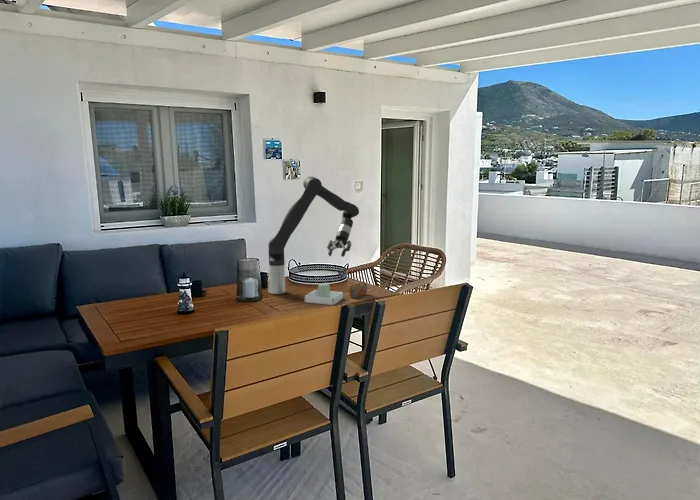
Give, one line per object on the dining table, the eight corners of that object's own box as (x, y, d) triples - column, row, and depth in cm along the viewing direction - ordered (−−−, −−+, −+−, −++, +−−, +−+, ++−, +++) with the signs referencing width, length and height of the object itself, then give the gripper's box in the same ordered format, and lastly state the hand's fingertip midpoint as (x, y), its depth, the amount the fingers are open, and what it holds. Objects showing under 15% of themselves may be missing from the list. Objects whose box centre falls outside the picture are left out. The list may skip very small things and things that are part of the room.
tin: (352, 299, 275) (352, 285, 274) (348, 298, 277) (348, 284, 276) (367, 294, 287) (367, 280, 286) (363, 293, 289) (363, 280, 288)
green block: (318, 300, 270) (318, 285, 269) (321, 298, 275) (321, 283, 274) (326, 301, 269) (326, 285, 267) (329, 299, 274) (329, 283, 272)
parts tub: (304, 303, 268) (304, 296, 267) (315, 296, 282) (315, 289, 281) (333, 305, 262) (333, 298, 262) (342, 299, 276) (342, 292, 276)
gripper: (330, 229, 293) (322, 251, 285) (351, 230, 287) (344, 252, 279) (335, 236, 299) (327, 258, 291) (356, 237, 292) (348, 259, 284)
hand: (335, 255), depth 285 cm, fingers open, 8 cm apart
